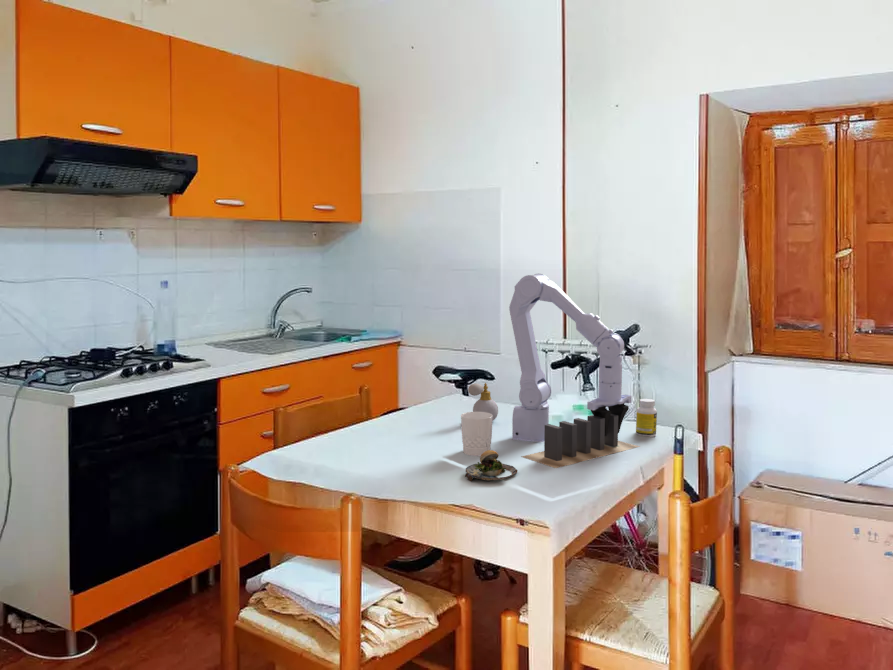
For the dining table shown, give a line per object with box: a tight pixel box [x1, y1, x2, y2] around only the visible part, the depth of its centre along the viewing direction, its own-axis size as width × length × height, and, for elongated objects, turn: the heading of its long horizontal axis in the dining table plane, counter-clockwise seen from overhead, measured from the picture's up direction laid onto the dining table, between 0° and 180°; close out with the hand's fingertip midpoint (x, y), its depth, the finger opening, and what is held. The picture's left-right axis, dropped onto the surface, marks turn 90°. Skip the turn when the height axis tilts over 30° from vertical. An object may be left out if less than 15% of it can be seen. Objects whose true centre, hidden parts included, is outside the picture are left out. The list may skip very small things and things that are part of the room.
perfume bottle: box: [467, 382, 499, 422], centre depth 226 cm, size 8×10×12 cm
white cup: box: [460, 411, 494, 457], centre depth 194 cm, size 8×8×10 cm
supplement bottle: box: [635, 398, 658, 438], centre depth 211 cm, size 5×5×10 cm
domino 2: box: [558, 420, 577, 457], centre depth 191 cm, size 2×4×8 cm, turn 36°
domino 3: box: [573, 417, 591, 454], centre depth 194 cm, size 2×4×8 cm, turn 37°
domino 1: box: [543, 423, 562, 461], centre depth 188 cm, size 2×4×8 cm, turn 37°
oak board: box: [520, 440, 641, 469], centre depth 194 cm, size 30×12×1 cm, turn 127°
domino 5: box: [604, 414, 619, 447], centre depth 199 cm, size 2×4×8 cm, turn 37°
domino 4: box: [586, 414, 605, 450], centre depth 196 cm, size 2×4×8 cm, turn 37°
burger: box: [464, 443, 518, 483], centre depth 176 cm, size 12×12×8 cm
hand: (609, 433), depth 200 cm, fingers open, 4 cm apart
